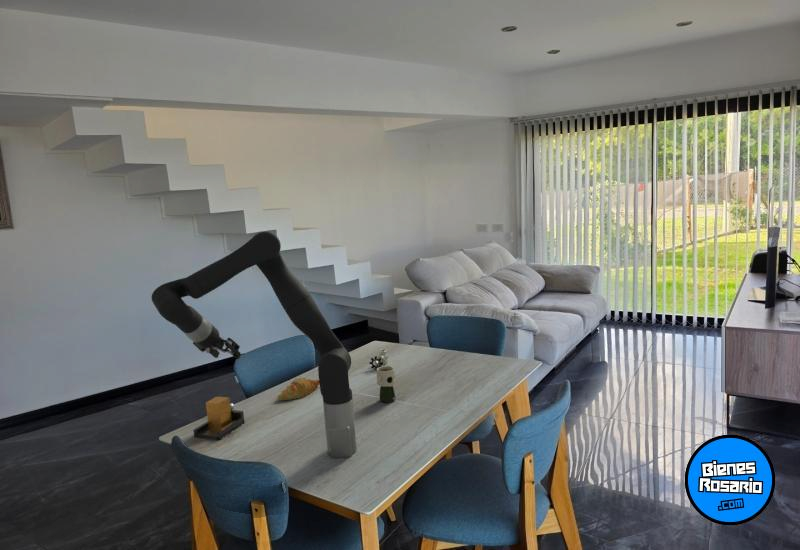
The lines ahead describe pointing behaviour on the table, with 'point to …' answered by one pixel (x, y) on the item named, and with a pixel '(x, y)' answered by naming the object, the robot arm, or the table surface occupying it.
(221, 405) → the block
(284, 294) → the robot arm
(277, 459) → the table surface
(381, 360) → the valve
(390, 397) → the character mug
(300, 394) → the croissant
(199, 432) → the tray
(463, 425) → the table surface
